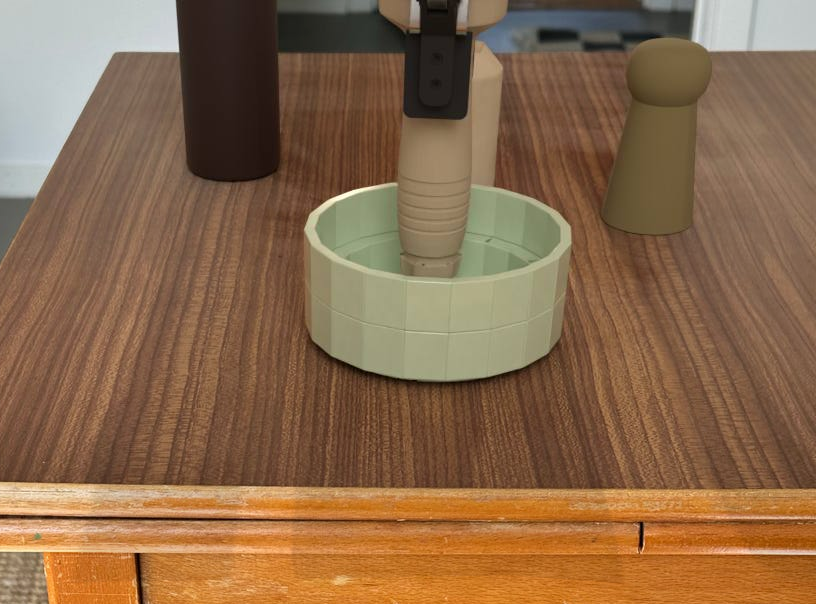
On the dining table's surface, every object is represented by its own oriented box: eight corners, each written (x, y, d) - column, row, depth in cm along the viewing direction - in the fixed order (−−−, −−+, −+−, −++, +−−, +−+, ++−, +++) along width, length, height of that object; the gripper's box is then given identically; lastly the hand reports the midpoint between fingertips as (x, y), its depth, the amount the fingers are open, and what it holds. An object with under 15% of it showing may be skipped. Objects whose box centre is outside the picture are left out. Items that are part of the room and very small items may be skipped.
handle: (394, 251, 77) (402, -31, 68) (498, 270, 75) (521, -18, 66) (359, 282, 74) (363, -10, 64) (467, 303, 72) (487, 4, 62)
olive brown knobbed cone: (583, 207, 89) (605, 34, 82) (660, 196, 91) (688, 25, 84) (630, 240, 85) (657, 59, 78) (710, 227, 87) (743, 49, 80)
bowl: (558, 286, 79) (569, 186, 76) (560, 399, 68) (573, 289, 65) (323, 273, 81) (323, 175, 77) (288, 382, 70) (286, 273, 66)
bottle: (177, 156, 97) (154, -160, 85) (266, 146, 99) (256, -164, 86) (199, 187, 92) (178, -143, 79) (292, 177, 94) (286, -149, 81)
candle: (415, 212, 88) (422, 54, 82) (409, 183, 93) (415, 31, 87) (497, 211, 89) (510, 54, 82) (487, 182, 93) (499, 30, 87)
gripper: (547, -327, 50) (508, 158, 61) (547, -345, 63) (514, 56, 75) (350, -328, 51) (347, 151, 62) (391, -346, 64) (382, 51, 75)
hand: (439, 95), depth 68 cm, fingers closed on handle, 5 cm apart
